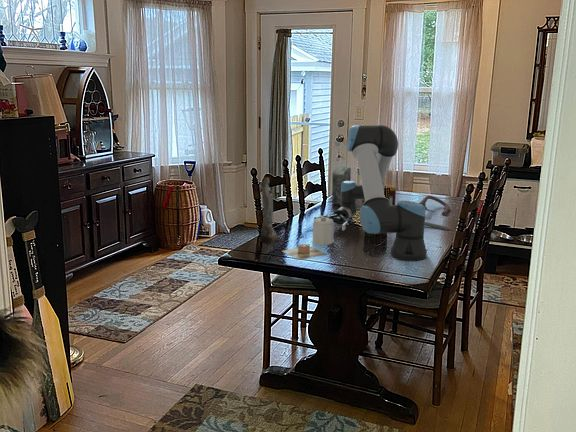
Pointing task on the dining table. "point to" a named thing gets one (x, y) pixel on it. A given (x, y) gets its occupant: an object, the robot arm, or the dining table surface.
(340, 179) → the concrete block
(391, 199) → the supplement box
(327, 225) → the white lidded jar
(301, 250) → the peach rounded dome
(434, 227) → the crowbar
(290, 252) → the board
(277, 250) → the dining table surface
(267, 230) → the statue
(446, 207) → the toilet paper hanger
